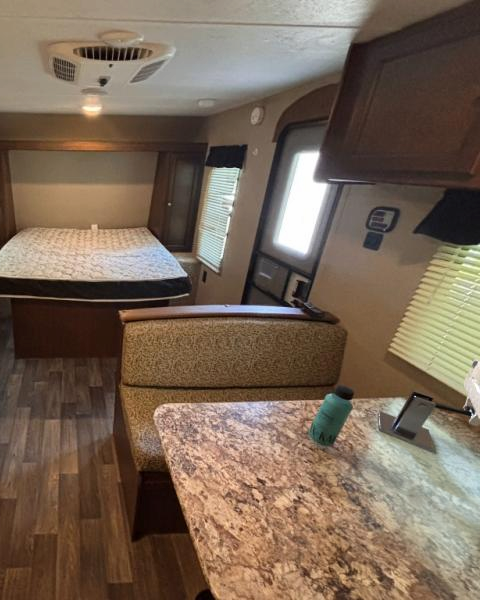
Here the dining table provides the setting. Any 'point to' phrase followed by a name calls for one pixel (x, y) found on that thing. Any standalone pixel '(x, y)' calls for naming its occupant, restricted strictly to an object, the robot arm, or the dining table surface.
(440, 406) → the lever
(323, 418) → the beverage bottle
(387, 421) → the bracket
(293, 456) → the dining table surface
